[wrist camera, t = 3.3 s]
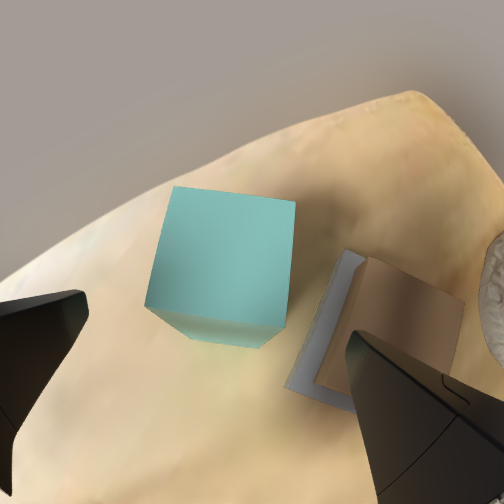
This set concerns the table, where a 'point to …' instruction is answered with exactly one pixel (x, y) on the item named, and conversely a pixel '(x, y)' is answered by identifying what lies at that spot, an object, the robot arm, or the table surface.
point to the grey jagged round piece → (493, 299)
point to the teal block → (223, 266)
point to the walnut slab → (393, 320)
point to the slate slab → (325, 336)
